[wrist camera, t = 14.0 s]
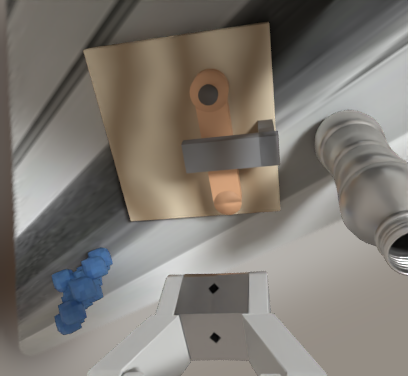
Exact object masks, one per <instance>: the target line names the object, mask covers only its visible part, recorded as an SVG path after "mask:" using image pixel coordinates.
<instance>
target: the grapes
mask: <svg viewBox="0 0 408 376" xmlns="http://www.w3.org/2000/svg"><path fill="white" fill-rule="evenodd" d="M81 263H82V266H80V267H78V268H77V270H76V271H75V272H73V271H72V270H69V269H65V270H62V271H59V272H57V273H55V274H53V275H52V280H53V283H54V286H55V289H56V290H57V291H59V292H63V297H61V299H62V302H63V303H62V304H60V305H58V308H59V313H60V314H58V315H56V316H55V322H56V326H57V329H58V331H59V332H60V333H61V334H63V335H66V334H70V333H73V332H75V331H77V330H78V329H80V328H82V326H81V323H83V322H85V321H84V319H85V318H87V316H86V311H85V310H86V309H88V308H87V307H89V306H91V305H93V302H95V301H97V300H99V299H101V298H103V293H102V289H101V285H103V284H102V280H101V279H102V276H104V275H106V274H108V270H109V269H110V265H112V264H113V263H112V259H111V255H110V253H109V251H108V250H107V249H106V248H98V249H95V250H93V251H90V252H89V253H88V258H87V259H85V260H83V261H81Z"/></svg>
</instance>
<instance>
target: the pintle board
mask: <svg viewBox="0 0 408 376" xmlns="http://www.w3.org/2000/svg"><path fill="white" fill-rule="evenodd" d="M83 52H84V55H85V59H86V63H87V66H88V70H89V73H90V77H91V80H92V84H93V88H94V91H95V95H96V98H97V102H98V105H99V109H100V113H101V116H102V120H103V123H104V127H105V130H106V134H107V138H108V141H109V145H110V148H111V152H112V155H113V159H114V163H115V166H116V170H117V173H118V177H119V180H120V184H121V188H122V191H123V195H124V198H125V202H126V205H127V209H128V213H129V216H130V220H131V221H141V220H156V219H170V218H185V217H199V216H214V215H224V214H222V213H220V212H218V211H217V210H216V208H215V206H214V202H213V197H212V191H211V186H210V181H209V176H208V171H219V170H231V169H238V170H239V177H240V184H241V190H242V205H241V208H240V210H239V211H238V212H237V213H235V214H243V213H257V212H272V211H280V196H279V179H278V165H280V156H279V138H278V131H276V128H275V111H274V94H273V77H272V60H271V43H270V27H269V22H262V23H255V24H249V25H242V26H235V27H228V28H222V29H215V30H208V31H201V32H195V33H188V34H181V35H174V36H167V37H161V38H154V39H147V40H140V41H134V42H127V43H120V44H113V45H106V46H100V47H93V48H88V49H85V50H83ZM205 69H216V70H219V71H220V72H222V73H223V74H224V75H225V76H226V78H227V80H228V82H229V93H228V103H229V110H230V116H231V123H232V130H233V135H230V136H220V137H210V138H201V134H200V128H199V123H198V118H197V113H196V107H195V105H194V104H193V103H192V101H191V98H190V87H191V84H192V82H193V80H194V79H195V77H196V76H197V74H198V73H199V72H201V71H203V70H205ZM198 98H199V101H200V102H201V103H202V104H204V105H212V104H214V103H215V102H216V101H217V98H218V90H217V89H216V87H215V86H213V85H211V84H206V85H203V86H202V87H201V88H200V90H199V93H198Z"/></svg>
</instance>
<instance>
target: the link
mask: <svg viewBox="0 0 408 376" xmlns="http://www.w3.org/2000/svg"><path fill="white" fill-rule="evenodd" d="M206 84H211V85H213V86H215V87H216V89H217V90H218V98H217V101H216V102H215V103H214V104H212V105H204V104H202V103H201V102H200V101H199V98H198V93H199V90H200V88H201V87H202V86H203V85H206ZM228 93H229V82H228V80H227V78H226V76H225V75H224V74H223V73H222V72H220V71H219V70H216V69H205V70H203V71H201V72H199V73H198V74H197V76H196V77H195V79H194V80H193V82H192V84H191V87H190V98H191V101H192V103H193V104H194V105H195V107H196V113H197V118H198V123H199V128H200V134H201V138H210V137H220V136H230V135H233V130H232V123H231V116H230V110H229V103H228ZM208 176H209V181H210V186H211V191H212V197H213V202H214V206H215V208H216V210H217V211H218V212H220V213H222V214H224V215H232V214H235V213H237V212H238V211H239V210H240V208H241V205H242V190H241V184H240V177H239V170H238V169H231V170H219V171H208Z"/></svg>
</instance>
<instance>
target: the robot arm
mask: <svg viewBox="0 0 408 376" xmlns="http://www.w3.org/2000/svg"><path fill="white" fill-rule="evenodd" d="M191 360H242V361H243V360H244V361H245V360H246V361H249V362H250V364H251V366H252V367H253V368H254V371H255V372H256V374H257V376H327V373H326V372H325V371H324V370H323V369H322V367H321V366H320V365H319V364H318V363H317V362H316V361H315V359H314V358H313V357H312V356H311V355H310V354H309V353H308V351H307V350H306V349H305V348H304V347H303V346H302V345H301V344H300V342H299V341H298V340H297V339H296V338H295V337H294V336H293V335H292V334H291V332H290V331H289V330H288V329H287V328H286V327H285V325H284V324H283V323H282V322H281V321H280V320H279V319H278V317H277V316H276V315H275V314H273V313H271V308H270V298H269V286H268V276H267V272H266V271H259V272H250V273H249V272H245V273H223V274H185V275H168V277H167V278H166V280H165V284H164V287H163V290H162V294H161V297H160V300H159V304H158V307H157V311H156V314H155V316H149V317H148V318H147V319H146V320H145V321H144V322H143V323H141V324H140V325H139V326H138V327H137V328H136V329H135V330H134V331H133V332H131V333H130V334H129V335H128V336H127V337H126V338H125V339H124V340H122V341H121V342H120V343H119V344H118V345H117V346H116V347H115V348H113V349H112V350H111V351H110V352H109V353H108V354H107V355H106V356H104V357H103V358H102V359H101V360H100V361H99V362H98V363H97V364H95V365H94V366H93V367H92V368H91V369H90V370H89V371H88V374H87V376H181V375H182V373H183V372H184V370H185V369H186V368H187V367H188V365H189V364H190V363H191V362H190V361H191Z"/></svg>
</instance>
